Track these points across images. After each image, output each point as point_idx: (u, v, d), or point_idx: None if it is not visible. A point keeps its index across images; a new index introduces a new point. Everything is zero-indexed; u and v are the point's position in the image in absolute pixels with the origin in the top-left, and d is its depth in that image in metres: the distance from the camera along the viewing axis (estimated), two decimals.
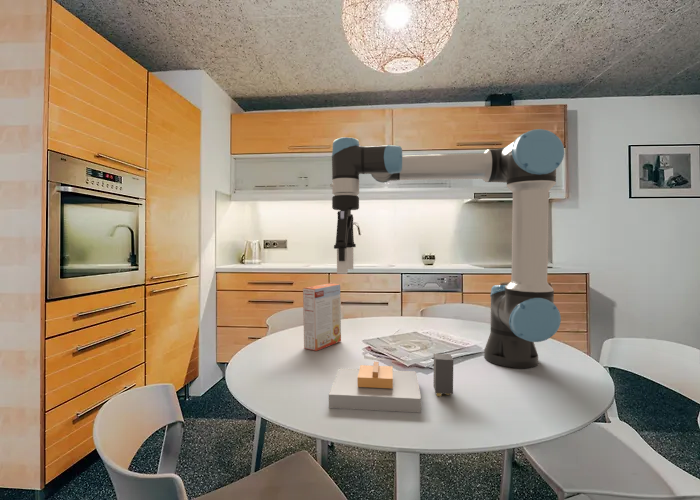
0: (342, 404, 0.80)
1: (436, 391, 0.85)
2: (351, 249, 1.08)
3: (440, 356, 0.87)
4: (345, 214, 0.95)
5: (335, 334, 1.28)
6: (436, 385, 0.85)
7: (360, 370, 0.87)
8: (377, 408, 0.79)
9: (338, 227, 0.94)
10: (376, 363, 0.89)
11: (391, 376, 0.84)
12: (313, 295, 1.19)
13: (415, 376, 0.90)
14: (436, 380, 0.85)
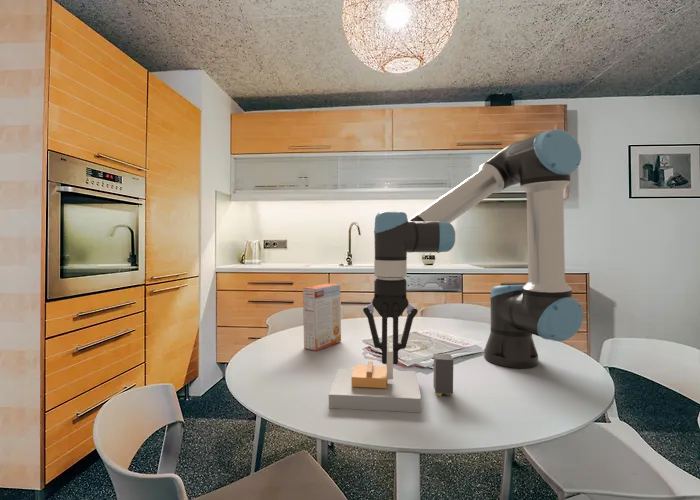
0: (342, 404, 0.80)
1: (436, 391, 0.85)
2: None
3: (440, 356, 0.87)
4: (364, 312, 0.86)
5: (335, 334, 1.28)
6: (436, 385, 0.85)
7: (354, 370, 0.88)
8: (377, 408, 0.79)
9: None
10: (370, 363, 0.89)
11: (385, 376, 0.84)
12: (313, 295, 1.19)
13: (415, 376, 0.90)
14: (436, 380, 0.85)
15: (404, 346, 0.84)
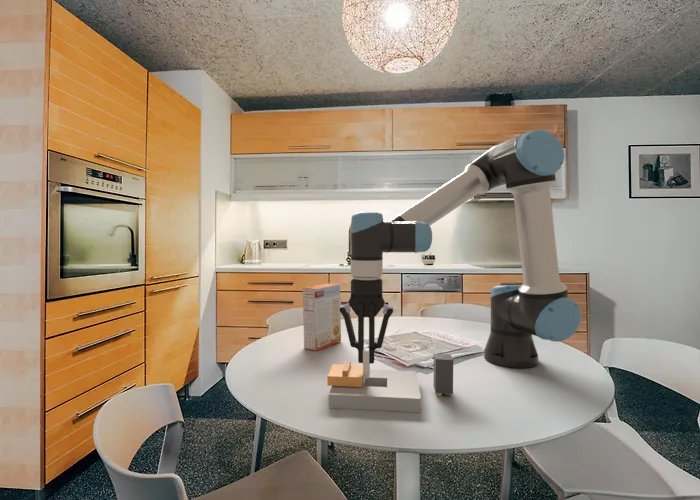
0: (342, 404, 0.80)
1: (436, 391, 0.85)
2: None
3: (440, 356, 0.87)
4: None
5: (335, 334, 1.28)
6: (436, 385, 0.85)
7: (331, 369, 0.88)
8: (377, 408, 0.79)
9: None
10: (347, 362, 0.89)
11: (361, 375, 0.84)
12: (313, 295, 1.19)
13: (415, 376, 0.90)
14: (436, 380, 0.85)
15: (380, 345, 0.85)
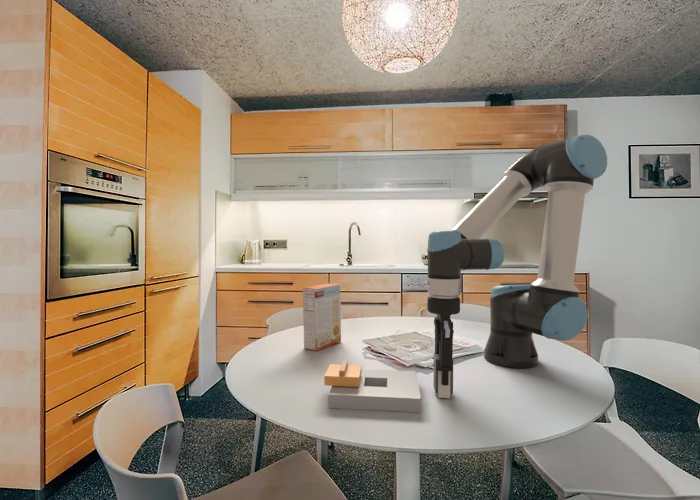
0: (342, 404, 0.80)
1: (436, 391, 0.85)
2: None
3: None
4: (451, 334, 0.80)
5: (335, 334, 1.28)
6: (436, 385, 0.85)
7: (328, 369, 0.88)
8: (377, 408, 0.79)
9: (443, 349, 0.81)
10: (344, 362, 0.90)
11: (358, 375, 0.84)
12: (313, 295, 1.19)
13: (415, 376, 0.90)
14: (436, 380, 0.85)
15: None
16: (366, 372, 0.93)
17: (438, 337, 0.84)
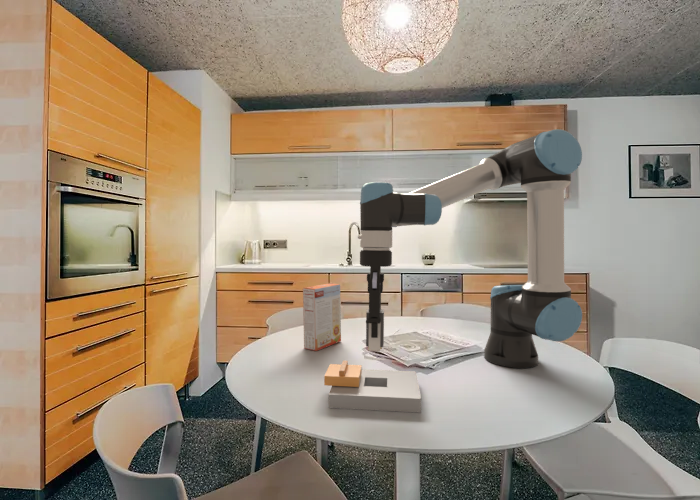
0: (342, 404, 0.80)
1: (367, 344, 0.85)
2: None
3: None
4: (378, 284, 0.79)
5: (335, 334, 1.28)
6: (367, 338, 0.85)
7: (328, 369, 0.88)
8: (377, 408, 0.79)
9: (370, 300, 0.80)
10: (344, 362, 0.90)
11: (358, 375, 0.84)
12: (313, 295, 1.19)
13: (415, 376, 0.90)
14: (366, 333, 0.85)
15: None
16: (366, 372, 0.93)
17: (368, 290, 0.84)
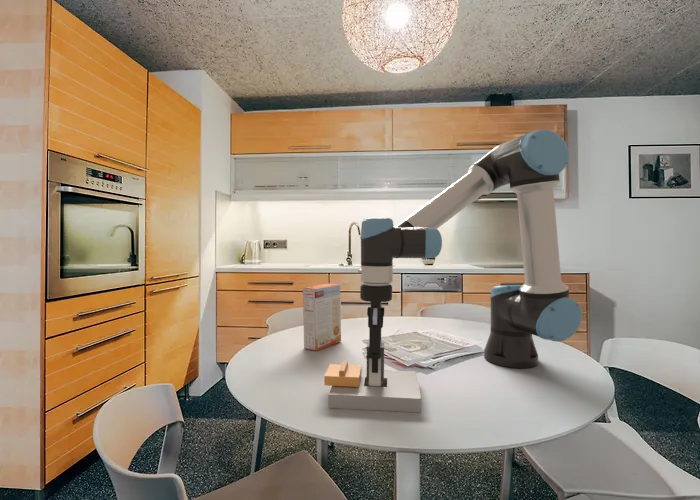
0: (342, 404, 0.80)
1: (367, 379, 0.85)
2: None
3: None
4: (378, 321, 0.80)
5: (335, 334, 1.28)
6: (367, 373, 0.85)
7: (328, 369, 0.88)
8: (377, 408, 0.79)
9: (371, 336, 0.81)
10: (344, 362, 0.90)
11: (358, 375, 0.84)
12: (313, 295, 1.19)
13: (415, 376, 0.90)
14: (367, 368, 0.85)
15: None
16: (366, 372, 0.93)
17: (369, 325, 0.84)
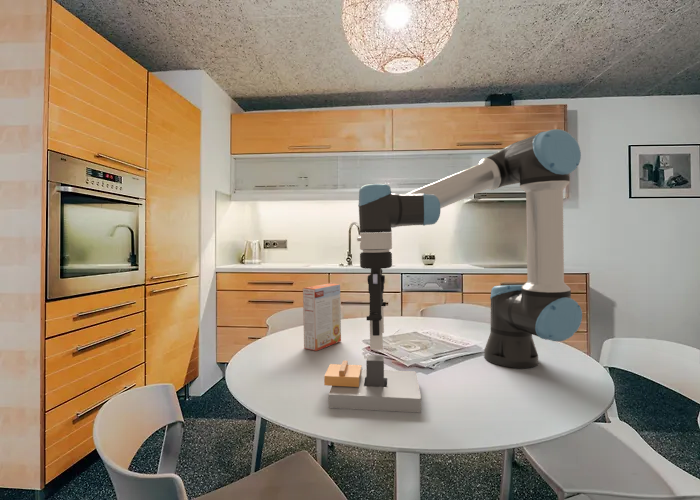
0: (342, 404, 0.80)
1: None
2: (381, 309, 0.93)
3: (372, 357, 0.86)
4: (379, 278, 0.79)
5: (335, 334, 1.28)
6: None
7: (328, 369, 0.88)
8: (377, 408, 0.79)
9: (371, 295, 0.78)
10: (344, 362, 0.90)
11: (358, 375, 0.84)
12: (313, 295, 1.19)
13: (415, 376, 0.90)
14: (367, 381, 0.84)
15: None
16: None
17: (369, 288, 0.82)
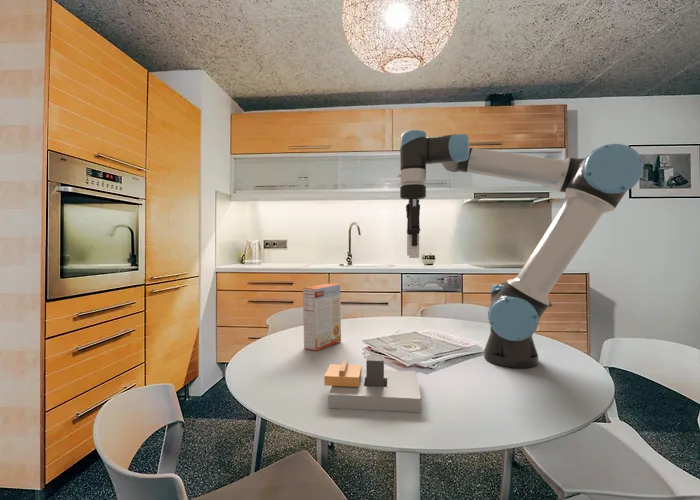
0: (342, 404, 0.80)
1: None
2: None
3: (372, 357, 0.86)
4: (417, 202, 1.01)
5: (335, 334, 1.28)
6: None
7: (328, 369, 0.88)
8: (377, 408, 0.79)
9: (411, 214, 1.00)
10: (344, 362, 0.90)
11: (358, 375, 0.84)
12: (313, 295, 1.19)
13: (415, 376, 0.90)
14: (366, 381, 0.84)
15: None
16: None
17: (408, 212, 1.05)
